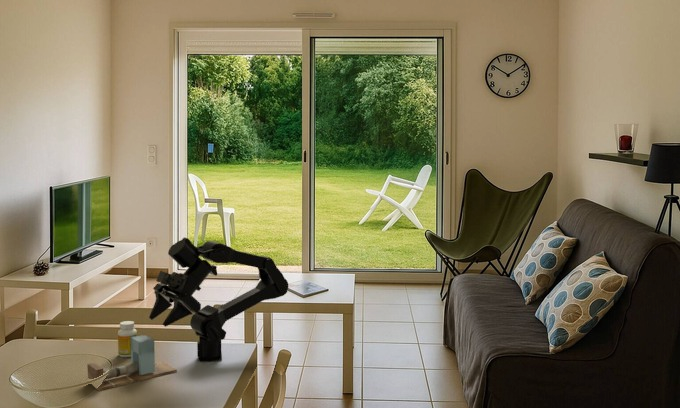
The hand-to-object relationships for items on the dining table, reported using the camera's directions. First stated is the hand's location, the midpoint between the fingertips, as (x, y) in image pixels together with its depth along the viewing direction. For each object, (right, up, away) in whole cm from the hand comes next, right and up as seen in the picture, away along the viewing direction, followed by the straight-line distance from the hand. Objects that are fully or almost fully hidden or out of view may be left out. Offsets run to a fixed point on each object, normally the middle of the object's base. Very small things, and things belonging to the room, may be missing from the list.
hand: (157, 322), depth 188 cm
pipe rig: (-6, -14, -4) cm, 16 cm away
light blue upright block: (-3, -14, -2) cm, 14 cm away
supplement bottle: (-12, -12, +14) cm, 23 cm away
